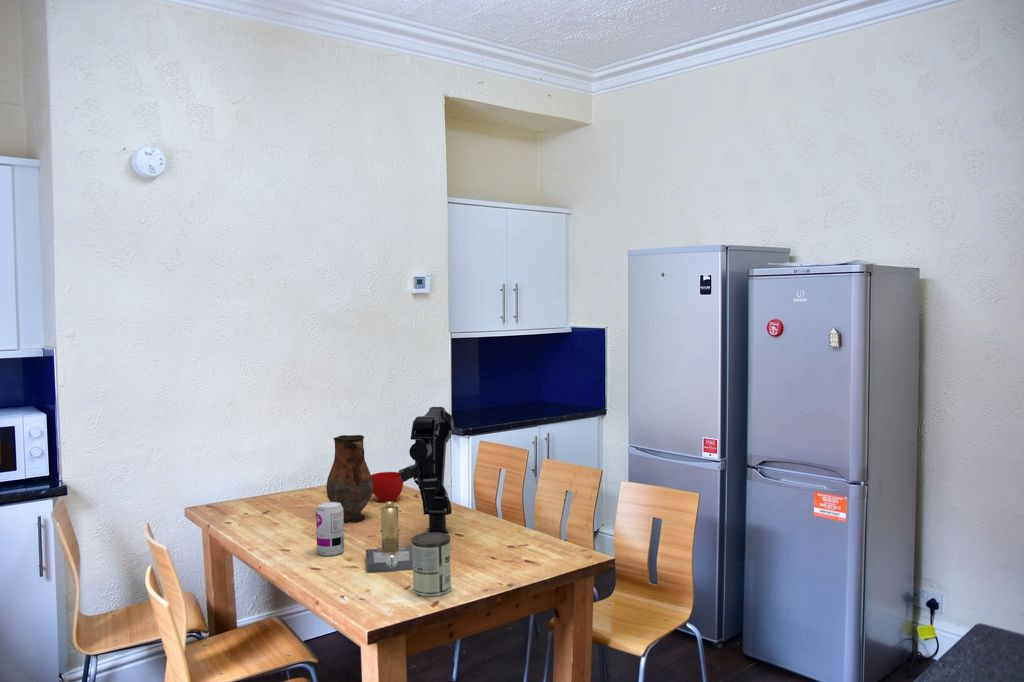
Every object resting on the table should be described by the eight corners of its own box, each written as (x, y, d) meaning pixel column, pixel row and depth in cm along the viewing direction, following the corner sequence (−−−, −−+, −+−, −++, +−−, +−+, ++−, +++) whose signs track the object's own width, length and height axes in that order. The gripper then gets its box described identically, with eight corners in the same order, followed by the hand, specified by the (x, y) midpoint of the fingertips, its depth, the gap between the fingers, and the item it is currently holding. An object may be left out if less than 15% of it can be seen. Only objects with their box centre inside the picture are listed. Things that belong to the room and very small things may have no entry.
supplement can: (317, 557, 237) (316, 508, 236) (316, 549, 245) (315, 502, 244) (344, 555, 239) (343, 506, 239) (343, 547, 247) (342, 500, 246)
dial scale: (365, 557, 236) (365, 543, 236) (412, 554, 239) (412, 539, 239) (367, 573, 222) (366, 557, 222) (416, 569, 225) (416, 553, 225)
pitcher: (363, 510, 293) (362, 431, 292) (385, 523, 275) (383, 438, 274) (320, 517, 284) (318, 435, 283) (339, 530, 266) (338, 443, 265)
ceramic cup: (359, 498, 312) (358, 473, 312) (401, 495, 317) (400, 470, 317) (362, 506, 300) (362, 480, 299) (406, 502, 305) (406, 477, 304)
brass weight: (392, 547, 236) (391, 499, 235) (402, 550, 232) (401, 502, 231) (378, 551, 232) (377, 502, 232) (388, 554, 228) (387, 505, 228)
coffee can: (414, 583, 214) (413, 532, 213) (452, 582, 214) (451, 531, 213) (410, 597, 203) (409, 543, 203) (450, 596, 204) (449, 542, 203)
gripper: (397, 453, 254) (397, 501, 254) (403, 462, 236) (403, 513, 236) (431, 452, 256) (432, 499, 256) (439, 460, 238) (440, 511, 238)
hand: (426, 506), depth 246 cm, fingers open, 9 cm apart
